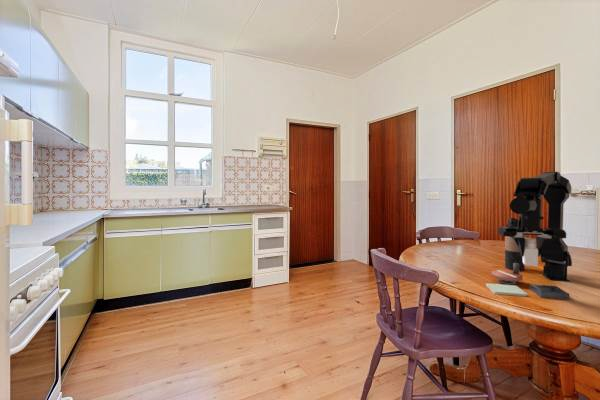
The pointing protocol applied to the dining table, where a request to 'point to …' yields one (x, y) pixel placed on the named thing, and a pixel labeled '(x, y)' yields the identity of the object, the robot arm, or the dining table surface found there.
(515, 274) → the handwheel
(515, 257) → the travel mug
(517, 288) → the board
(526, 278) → the dining table surface
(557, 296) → the dark grey square frame
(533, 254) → the pepper shaker
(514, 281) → the wheel post
